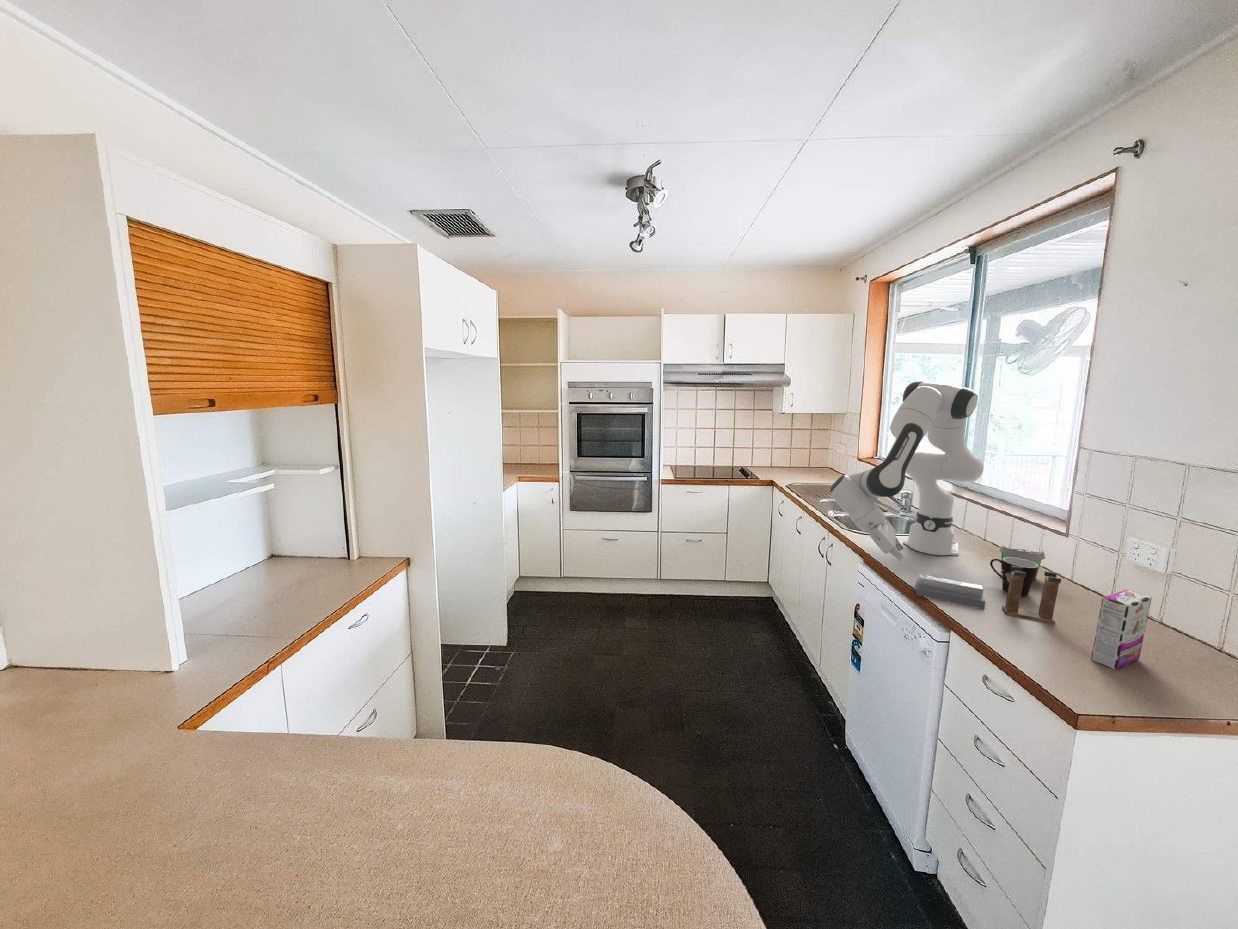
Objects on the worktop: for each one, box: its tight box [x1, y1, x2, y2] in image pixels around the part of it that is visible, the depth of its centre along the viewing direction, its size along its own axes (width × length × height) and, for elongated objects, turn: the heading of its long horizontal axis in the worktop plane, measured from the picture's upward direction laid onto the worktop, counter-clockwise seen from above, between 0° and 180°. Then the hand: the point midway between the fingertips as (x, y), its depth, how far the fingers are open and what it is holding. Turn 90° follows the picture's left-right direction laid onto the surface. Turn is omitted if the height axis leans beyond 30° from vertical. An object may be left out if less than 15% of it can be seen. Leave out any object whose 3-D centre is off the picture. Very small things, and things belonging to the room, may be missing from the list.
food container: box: [999, 544, 1046, 582], centre depth 163 cm, size 12×6×10 cm, turn 68°
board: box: [915, 578, 986, 610], centre depth 149 cm, size 17×8×2 cm, turn 60°
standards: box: [1001, 566, 1062, 625], centre depth 137 cm, size 11×5×13 cm, turn 60°
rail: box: [918, 574, 984, 598], centre depth 149 cm, size 16×3×3 cm, turn 60°
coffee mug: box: [989, 557, 1038, 598], centre depth 154 cm, size 12×9×10 cm
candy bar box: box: [1090, 589, 1153, 671], centre depth 115 cm, size 11×5×16 cm, turn 113°
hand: (901, 554), depth 154 cm, fingers open, 8 cm apart
